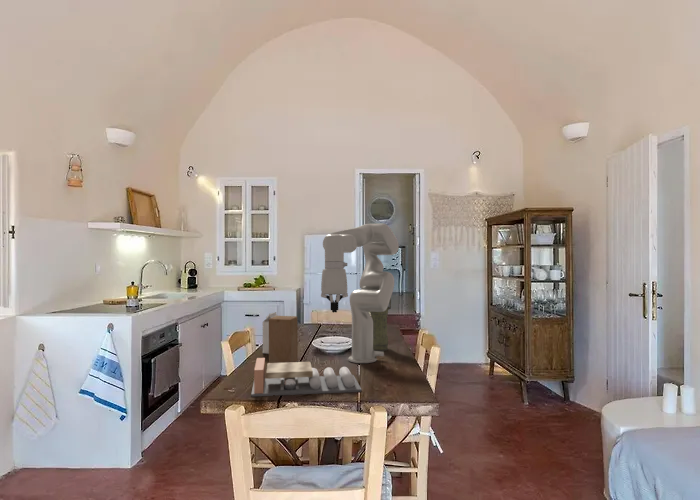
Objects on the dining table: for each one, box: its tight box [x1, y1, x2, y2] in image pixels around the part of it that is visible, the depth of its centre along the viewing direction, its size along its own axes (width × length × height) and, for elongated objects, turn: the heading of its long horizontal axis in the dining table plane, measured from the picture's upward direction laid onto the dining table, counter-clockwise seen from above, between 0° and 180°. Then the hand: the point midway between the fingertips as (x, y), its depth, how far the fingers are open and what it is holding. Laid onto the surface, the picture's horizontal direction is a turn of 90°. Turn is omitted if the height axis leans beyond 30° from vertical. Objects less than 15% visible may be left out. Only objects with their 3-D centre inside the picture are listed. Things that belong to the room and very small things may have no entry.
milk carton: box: [262, 312, 279, 355], centre depth 230 cm, size 7×7×19 cm
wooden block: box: [268, 315, 299, 363], centre depth 209 cm, size 10×10×20 cm
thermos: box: [369, 297, 392, 352], centre depth 238 cm, size 9×12×35 cm
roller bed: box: [250, 357, 363, 397], centre depth 175 cm, size 38×19×9 cm, turn 98°
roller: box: [284, 378, 296, 390], centre depth 174 cm, size 4×14×4 cm, turn 8°
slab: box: [265, 361, 313, 379], centre depth 174 cm, size 16×14×2 cm
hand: (334, 311), depth 190 cm, fingers closed
